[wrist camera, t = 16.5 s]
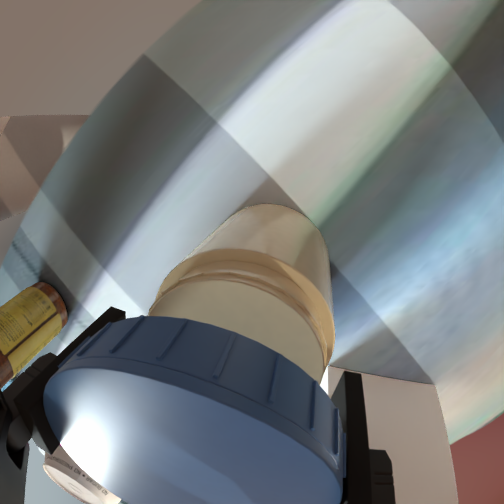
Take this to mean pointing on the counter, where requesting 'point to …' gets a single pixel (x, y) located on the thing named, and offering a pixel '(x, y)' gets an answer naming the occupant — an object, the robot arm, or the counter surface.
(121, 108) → the counter surface
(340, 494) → the lid
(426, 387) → the milk
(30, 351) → the sauce bottle
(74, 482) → the supplement can
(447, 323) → the counter surface
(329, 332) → the jar
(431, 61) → the counter surface
